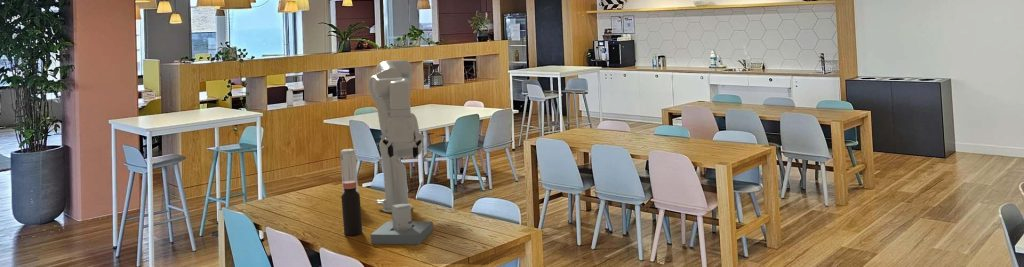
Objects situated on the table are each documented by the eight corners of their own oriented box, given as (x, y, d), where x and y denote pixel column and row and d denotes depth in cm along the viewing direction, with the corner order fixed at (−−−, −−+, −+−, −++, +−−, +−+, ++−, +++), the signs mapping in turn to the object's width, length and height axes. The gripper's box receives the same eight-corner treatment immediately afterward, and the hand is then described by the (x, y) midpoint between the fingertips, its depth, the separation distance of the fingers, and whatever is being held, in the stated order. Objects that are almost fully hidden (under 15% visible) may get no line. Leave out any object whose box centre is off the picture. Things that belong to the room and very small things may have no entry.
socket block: (371, 243, 278) (370, 234, 277) (387, 230, 295) (387, 221, 295) (419, 244, 274) (418, 234, 274) (433, 230, 292) (432, 221, 291)
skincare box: (398, 239, 281) (396, 207, 280) (392, 237, 285) (390, 205, 283) (413, 236, 285) (411, 204, 283) (407, 234, 288) (405, 202, 287)
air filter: (343, 205, 340) (339, 149, 336) (358, 203, 342) (354, 148, 338) (344, 208, 334) (340, 151, 330) (360, 206, 335) (355, 150, 332)
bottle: (340, 234, 292) (336, 182, 289) (354, 230, 297) (350, 179, 294) (352, 237, 288) (348, 184, 285) (366, 232, 293) (362, 181, 290)
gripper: (375, 114, 291) (378, 158, 295) (419, 114, 288) (421, 159, 291) (382, 111, 299) (385, 154, 302) (425, 111, 295) (427, 154, 299)
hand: (403, 156), depth 297 cm, fingers open, 9 cm apart
